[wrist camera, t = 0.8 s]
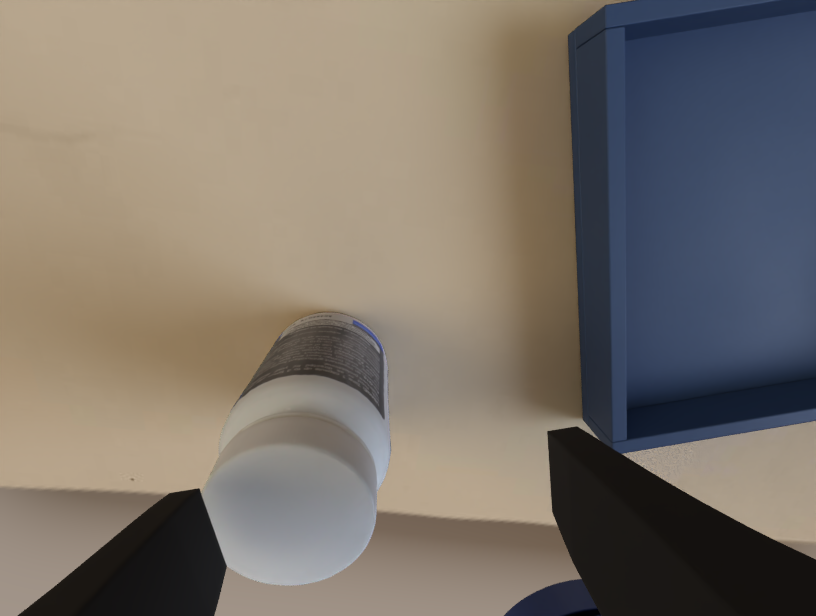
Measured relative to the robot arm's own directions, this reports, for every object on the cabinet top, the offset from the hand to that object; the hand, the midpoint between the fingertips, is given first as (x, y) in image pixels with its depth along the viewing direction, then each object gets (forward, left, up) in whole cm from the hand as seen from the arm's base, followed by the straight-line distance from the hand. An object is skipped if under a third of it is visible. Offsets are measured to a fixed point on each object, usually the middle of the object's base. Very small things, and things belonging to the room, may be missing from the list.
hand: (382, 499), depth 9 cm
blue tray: (+2, -15, -9) cm, 17 cm away
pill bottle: (-1, +2, -9) cm, 10 cm away
